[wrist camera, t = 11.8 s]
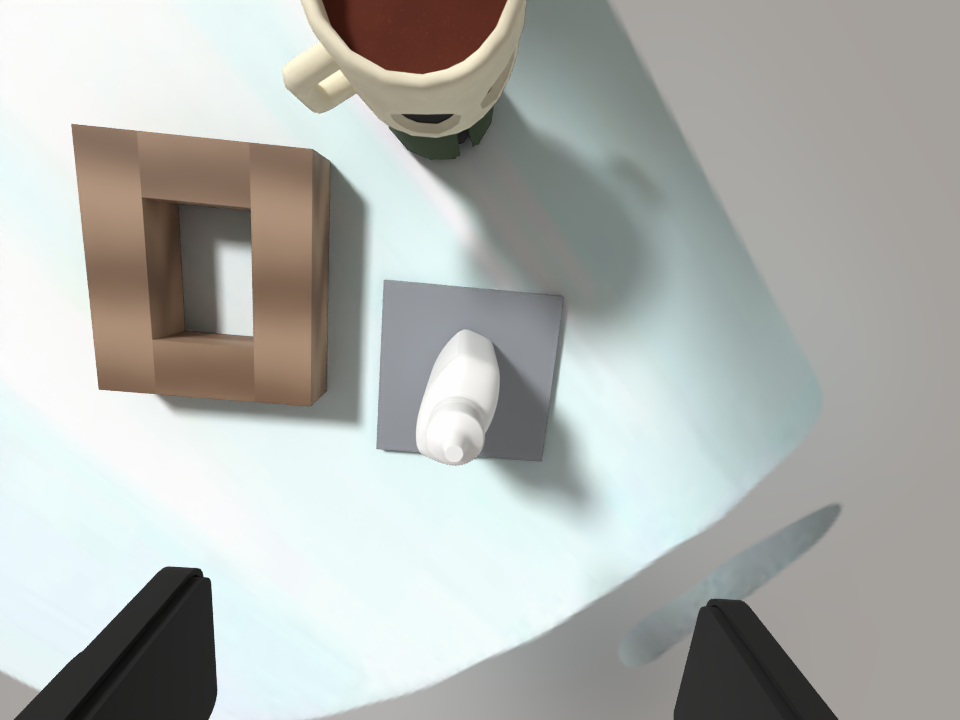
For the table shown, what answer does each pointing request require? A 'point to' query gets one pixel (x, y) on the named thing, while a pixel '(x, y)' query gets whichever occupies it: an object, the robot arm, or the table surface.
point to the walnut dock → (158, 273)
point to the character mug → (411, 65)
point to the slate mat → (518, 348)
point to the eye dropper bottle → (459, 400)
